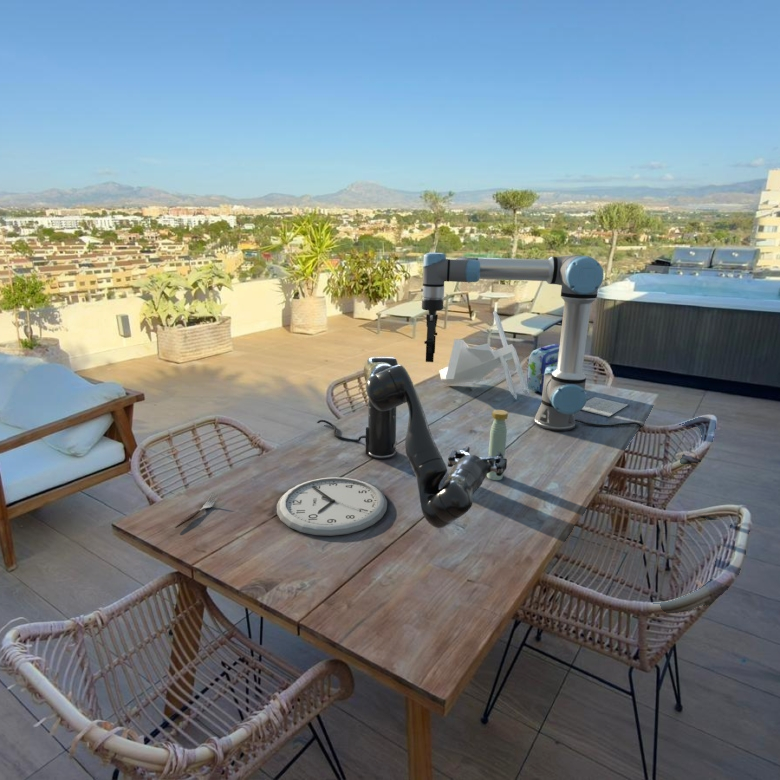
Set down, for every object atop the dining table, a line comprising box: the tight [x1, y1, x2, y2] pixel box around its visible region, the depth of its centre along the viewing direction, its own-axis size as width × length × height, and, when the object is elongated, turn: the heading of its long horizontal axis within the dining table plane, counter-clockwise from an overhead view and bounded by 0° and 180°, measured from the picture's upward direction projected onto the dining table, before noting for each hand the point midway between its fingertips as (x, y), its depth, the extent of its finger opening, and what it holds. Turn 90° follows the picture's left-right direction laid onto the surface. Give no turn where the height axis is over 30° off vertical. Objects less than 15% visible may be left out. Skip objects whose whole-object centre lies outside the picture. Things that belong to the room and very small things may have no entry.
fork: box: [174, 492, 220, 529], centre depth 137 cm, size 3×16×2 cm, turn 160°
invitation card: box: [580, 396, 629, 418], centre depth 226 cm, size 21×1×15 cm
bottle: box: [486, 418, 508, 481], centre depth 158 cm, size 5×5×21 cm
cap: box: [491, 409, 509, 421], centre depth 155 cm, size 4×4×2 cm
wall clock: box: [276, 476, 388, 537], centre depth 142 cm, size 30×2×30 cm
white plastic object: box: [438, 310, 531, 400], centre depth 245 cm, size 37×45×31 cm
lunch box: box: [526, 343, 560, 394], centre depth 247 cm, size 26×11×21 cm, turn 134°
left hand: (483, 452), depth 139 cm, fingers open, 8 cm apart
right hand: (430, 357), depth 190 cm, fingers open, 13 cm apart
